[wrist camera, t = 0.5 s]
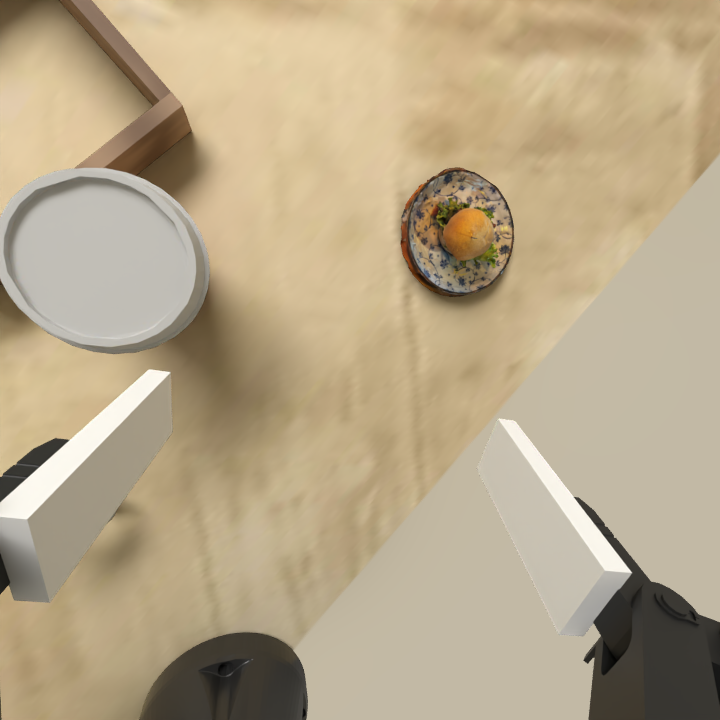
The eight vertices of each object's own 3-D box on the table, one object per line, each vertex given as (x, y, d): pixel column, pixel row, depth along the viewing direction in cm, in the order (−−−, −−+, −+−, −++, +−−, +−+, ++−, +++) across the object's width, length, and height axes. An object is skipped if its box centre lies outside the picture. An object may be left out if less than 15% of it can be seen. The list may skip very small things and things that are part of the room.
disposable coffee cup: (169, 363, 30) (111, 394, 18) (67, 278, 27) (-76, 251, 16) (251, 285, 31) (245, 267, 19) (160, 195, 28) (91, 113, 17)
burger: (513, 276, 38) (572, 267, 31) (418, 312, 36) (458, 312, 28) (486, 161, 36) (543, 122, 28) (382, 191, 33) (416, 157, 26)
